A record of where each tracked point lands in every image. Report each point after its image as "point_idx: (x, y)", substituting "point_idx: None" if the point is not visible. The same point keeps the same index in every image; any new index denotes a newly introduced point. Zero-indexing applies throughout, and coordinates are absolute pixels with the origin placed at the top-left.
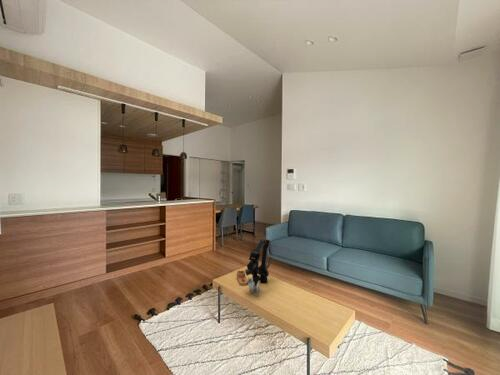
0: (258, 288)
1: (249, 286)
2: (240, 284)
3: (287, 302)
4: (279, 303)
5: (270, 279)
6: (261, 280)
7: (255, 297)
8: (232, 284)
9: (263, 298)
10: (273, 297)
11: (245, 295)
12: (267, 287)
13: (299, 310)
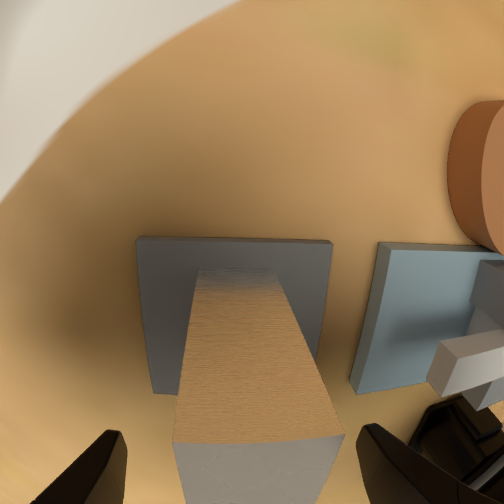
0: None
1: (393, 257)
2: (479, 108)
3: None
4: (26, 464)
5: None
6: (449, 426)
7: (57, 303)
8: (484, 14)
9: (56, 392)
10: None
11: (115, 130)
12: None
13: (9, 497)
